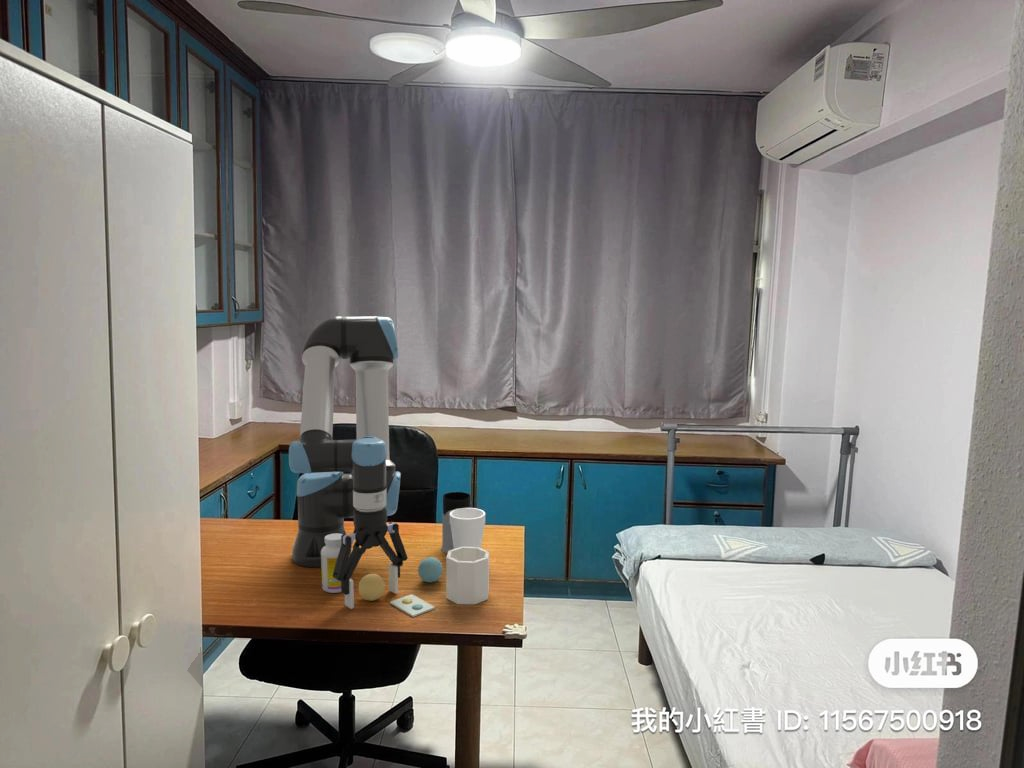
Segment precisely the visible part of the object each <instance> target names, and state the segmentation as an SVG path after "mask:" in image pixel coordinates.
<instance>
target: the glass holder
mask: <svg viewBox="0 0 1024 768" xmlns="http://www.w3.org/2000/svg"><path fill="white" fill-rule="evenodd" d="M459 508H471V494H470V493H467V492H463V491H451V492H446V493H444V494H443V495H442V512H441V513H442V515H441V516H442V517H441V518H442V521H441V523H442V528H441V529H442V531H441V532H442V537H441V539H442V542H441V543H442V544H441V546H440V551H441V552H442V553H444V554H448V551H449V550H453V549H454V547H453V539H452V532H451V525H450V512H451V511H453V510H455V509H459Z"/></svg>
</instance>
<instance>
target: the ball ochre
mask: <svg viewBox="0 0 1024 768" xmlns="http://www.w3.org/2000/svg"><path fill="white" fill-rule="evenodd" d="M385 588H386V585H385V582H384V579H383V577H381V576H380V575H379V574H377V573H367V574H366V575H364V576H363V577H362V578H361V579H360V581H359V583H358V593H359V595H360V597H361V598H362V599H364V600H365V601H371V602H372V601H376V600H378V599H380V598H381V597H382V596H383V594H384V593H385V591H386V589H385Z"/></svg>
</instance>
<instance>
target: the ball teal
mask: <svg viewBox="0 0 1024 768" xmlns="http://www.w3.org/2000/svg"><path fill="white" fill-rule="evenodd" d="M417 567H418V569H417V573H418V576H419V578H420V579H421V580H422V581H423V582H426V583H435V582H437V581H439V579H440V578H441V577H442V575H443V570H444V568H443V565H442V563H441V561H440V560H439V559H438V558H437V557H432V556H431V557H430V556H429V557H425V558H424V559H422V560H421V561H420V563H419V565H418V566H417Z"/></svg>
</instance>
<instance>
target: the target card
mask: <svg viewBox="0 0 1024 768" xmlns="http://www.w3.org/2000/svg"><path fill="white" fill-rule="evenodd" d="M389 604H391V605H393V606H394V607H395V608H397V609H399V610H401V611H402V612H404V613H405V614H407V615H409V616H411V617H413V618H414V617H417V616H420V615H423V614H425V613H427V612H430V611H434V610H435V609H436V607H435V606H434V605H432V604H430V603H428V602H426V600H423V599H422V598H420V597H418V596H416V595H414V594H412V593H411V594H408V595H405V596H402V597H400V598H396V599H394V600H391V601H390V602H389Z"/></svg>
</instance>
